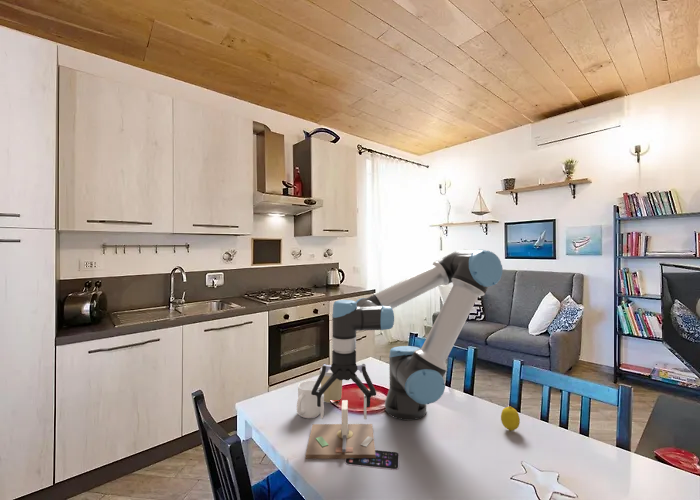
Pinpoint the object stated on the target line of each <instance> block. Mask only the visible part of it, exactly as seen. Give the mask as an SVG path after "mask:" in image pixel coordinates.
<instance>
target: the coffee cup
mask: <svg viewBox="0 0 700 500" xmlns="http://www.w3.org/2000/svg"><path fill="white" fill-rule="evenodd" d="M321 372H322V366H321V367H320V369H319V374H320V373H321ZM332 374H333V373H332V371H331V370H328V372H325V375H324V378H323V379H322V381H321V387H322V386H323V385H324V384H325V383H326V381H327V380H328V379H329V378H330V377H331V375H332ZM342 392H343V380H339V379H336V380H335V381H334V382H333V383H332V384H331V385H330V386H329V387H328V389H327V390H326V391H325V392H324V393H323V394H324V403H326V404H331V403H330V400H340V399H341V400H342V395H343V393H342ZM341 400H340V401H341Z"/></svg>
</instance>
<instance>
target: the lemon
mask: <svg viewBox="0 0 700 500" xmlns="http://www.w3.org/2000/svg"><path fill="white" fill-rule="evenodd" d="M520 420H521V419H520V415H519V412H518V411H517V410H516V409H515V408H514V407H512V406H510V405H509V406H506V407H504V408H503V409H502V410H501V415H500V421H501V423H502V425H503V427H504V428H505V429H507V430H508V431H509V432H512V431H515V430H517V429H518V428H519V427H520V423H521V422H520Z"/></svg>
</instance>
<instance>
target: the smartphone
mask: <svg viewBox="0 0 700 500" xmlns="http://www.w3.org/2000/svg"><path fill="white" fill-rule="evenodd" d="M375 454H376V458H346V459H344V460H345V461H344V464H346V465H347V466H356V467H364V468H365V467H366V468H375V469H382V470H383V469H384V470H393V471H397V470H399V467H400V466H399V464H400V453H399V452H397V451H391V450H379V449H375Z"/></svg>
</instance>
